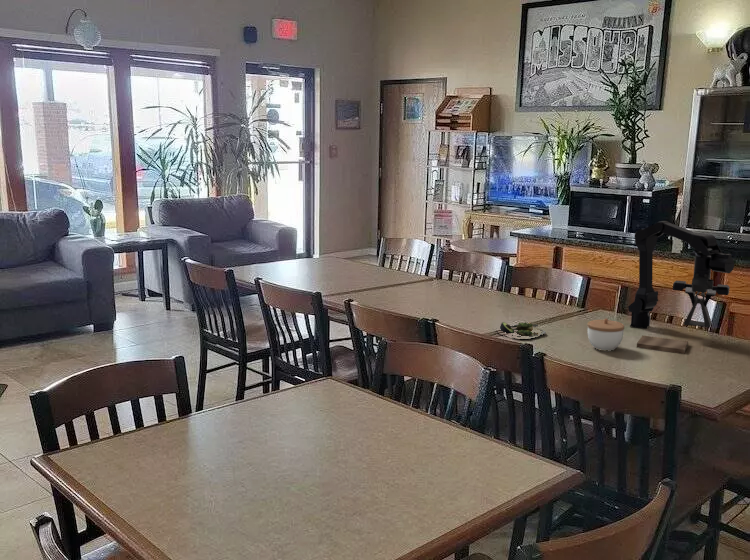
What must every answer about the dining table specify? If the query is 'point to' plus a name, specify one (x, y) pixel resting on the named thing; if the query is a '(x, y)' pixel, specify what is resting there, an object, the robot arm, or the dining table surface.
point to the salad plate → (520, 329)
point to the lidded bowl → (605, 334)
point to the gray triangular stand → (705, 313)
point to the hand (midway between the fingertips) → (698, 310)
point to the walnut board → (662, 344)
